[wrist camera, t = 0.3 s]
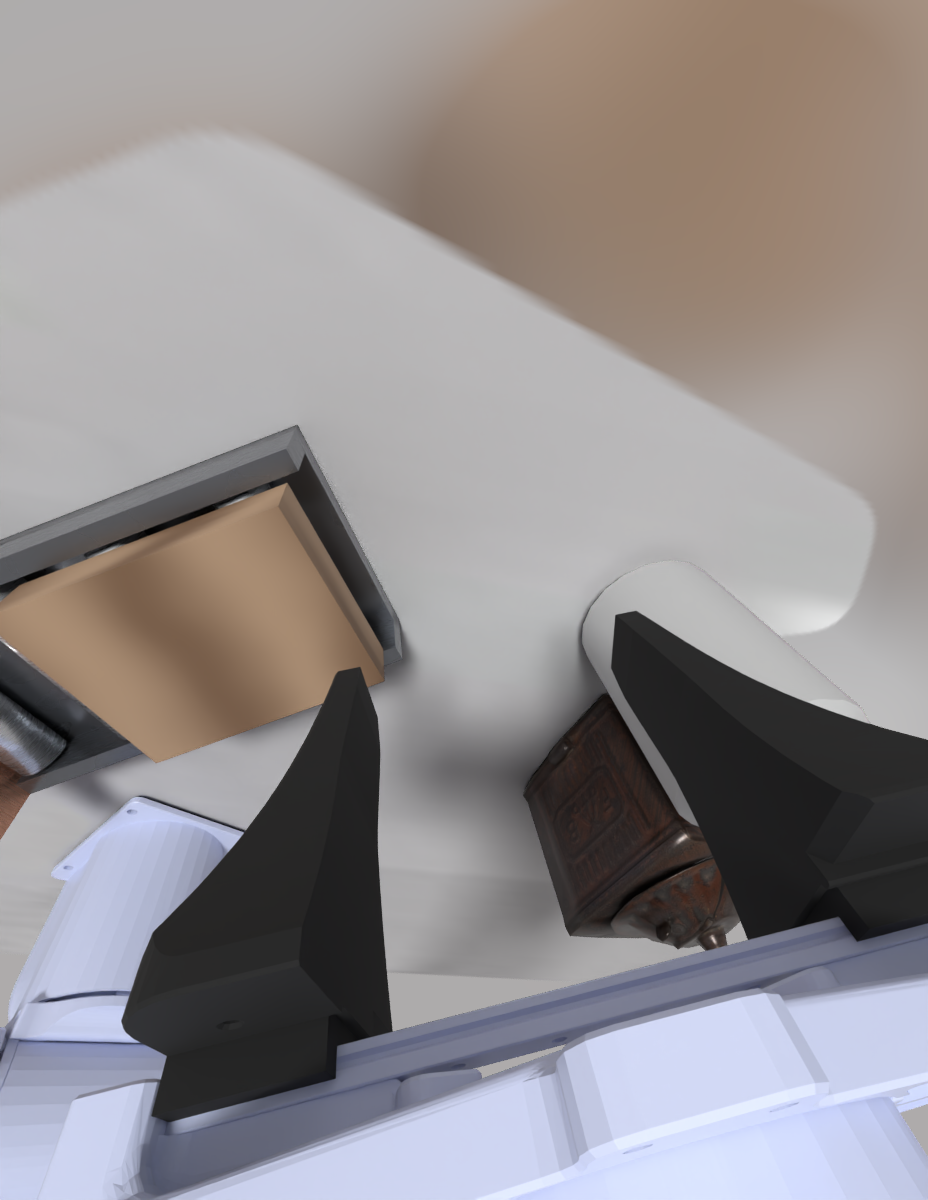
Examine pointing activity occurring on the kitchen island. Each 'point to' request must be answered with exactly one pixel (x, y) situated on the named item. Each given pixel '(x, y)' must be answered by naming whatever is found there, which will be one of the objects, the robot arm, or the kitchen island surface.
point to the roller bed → (158, 518)
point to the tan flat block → (198, 626)
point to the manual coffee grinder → (623, 842)
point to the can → (701, 646)
